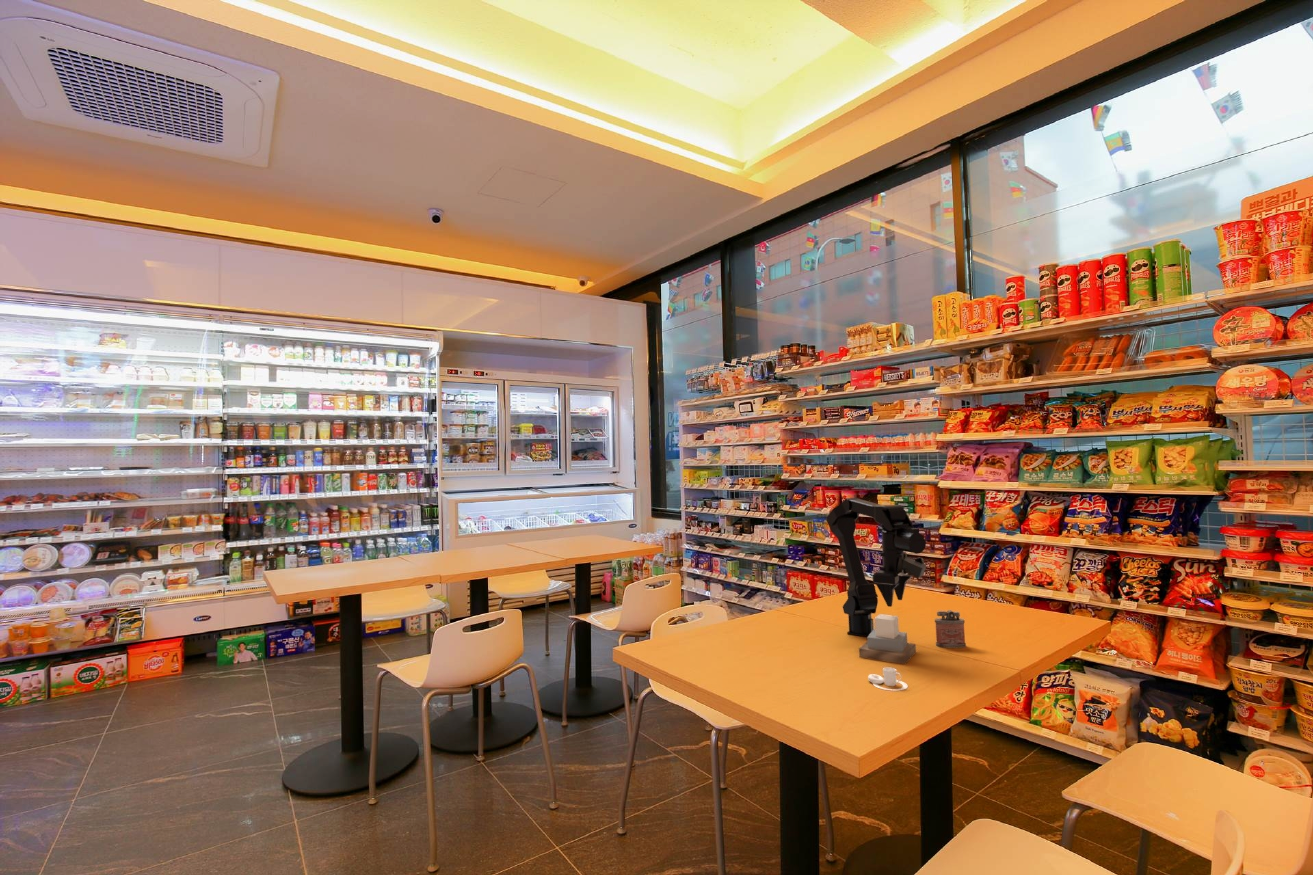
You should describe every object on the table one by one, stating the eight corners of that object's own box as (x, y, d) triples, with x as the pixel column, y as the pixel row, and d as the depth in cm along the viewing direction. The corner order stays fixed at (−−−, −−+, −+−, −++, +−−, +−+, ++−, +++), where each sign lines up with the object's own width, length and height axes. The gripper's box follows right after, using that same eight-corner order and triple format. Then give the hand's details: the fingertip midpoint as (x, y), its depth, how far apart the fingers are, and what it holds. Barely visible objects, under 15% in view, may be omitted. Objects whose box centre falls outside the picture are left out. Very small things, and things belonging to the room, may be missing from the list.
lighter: (963, 643, 178) (961, 609, 179) (967, 647, 175) (965, 611, 175) (934, 644, 179) (932, 609, 179) (938, 647, 176) (936, 612, 176)
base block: (859, 659, 169) (859, 648, 169) (872, 648, 179) (872, 637, 179) (905, 666, 162) (904, 655, 162) (916, 654, 172) (915, 643, 172)
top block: (867, 648, 169) (867, 637, 169) (874, 639, 177) (873, 629, 177) (902, 652, 165) (901, 641, 165) (907, 643, 173) (906, 632, 173)
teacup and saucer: (863, 683, 151) (862, 666, 151) (888, 677, 154) (887, 661, 154) (889, 694, 143) (888, 677, 143) (915, 689, 146) (914, 671, 146)
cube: (875, 636, 170) (874, 617, 171) (880, 631, 174) (879, 614, 175) (894, 638, 167) (893, 620, 168) (898, 634, 172) (897, 616, 172)
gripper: (912, 555, 165) (914, 614, 164) (931, 546, 180) (933, 600, 179) (870, 552, 172) (873, 608, 171) (892, 544, 186) (894, 595, 186)
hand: (895, 603), depth 177 cm, fingers open, 9 cm apart
